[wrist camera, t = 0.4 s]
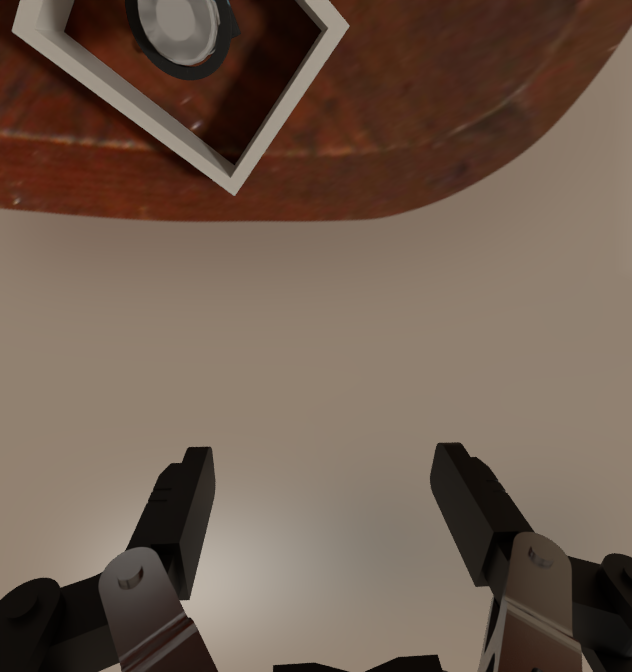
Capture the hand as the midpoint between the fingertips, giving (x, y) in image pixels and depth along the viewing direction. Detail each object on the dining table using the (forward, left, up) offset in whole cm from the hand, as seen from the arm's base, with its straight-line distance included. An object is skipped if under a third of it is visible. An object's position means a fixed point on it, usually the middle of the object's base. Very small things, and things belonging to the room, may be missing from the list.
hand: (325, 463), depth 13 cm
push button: (-13, +5, -28) cm, 31 cm away
